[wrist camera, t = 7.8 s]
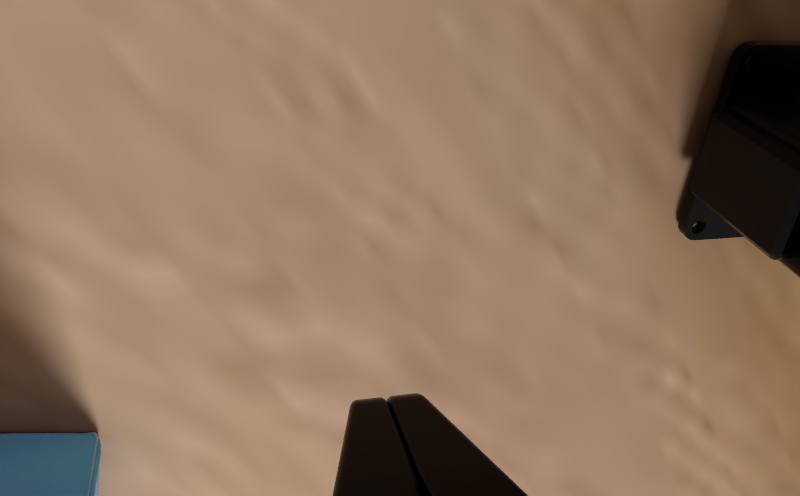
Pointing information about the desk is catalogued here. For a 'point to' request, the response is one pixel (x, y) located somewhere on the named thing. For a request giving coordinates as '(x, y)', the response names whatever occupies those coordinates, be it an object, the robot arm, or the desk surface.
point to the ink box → (49, 464)
